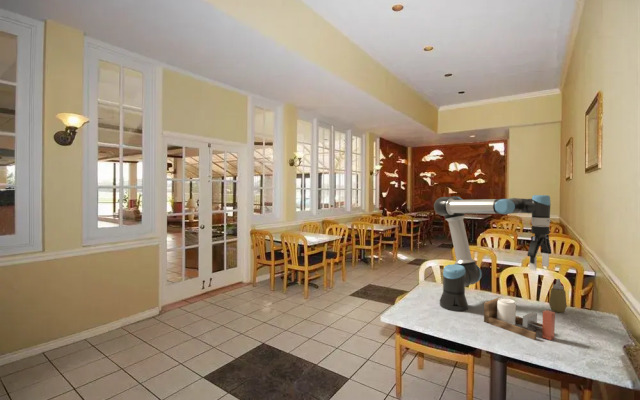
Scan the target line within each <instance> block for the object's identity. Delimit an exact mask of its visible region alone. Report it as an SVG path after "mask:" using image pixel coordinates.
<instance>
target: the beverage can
mask: <svg viewBox="0 0 640 400" xmlns="http://www.w3.org/2000/svg"><path fill="white" fill-rule="evenodd" d="M498 298H499V299H498V301H497V319H498V320H501V321H504V322H507V323H510V324H512V325H515V326H516V323H515V318H516V316H517V314H516V312H517V311H516V308H517V304H516V301H515V300H514V299H510V298H507V297H498Z"/></svg>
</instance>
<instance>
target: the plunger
mask: <svg viewBox="0 0 640 400" xmlns="http://www.w3.org/2000/svg"><path fill="white" fill-rule="evenodd" d="M522 318H523V325H522V328H524V329H527V330H530V331H533V332H535V331H539V330H542V331H541V332H542V333H541V337H542V338H543V339H546V340H549V341H553V340H554V339H555V326H556V325H555V324H556V323H555V322H556V321H555V320H556V312H555V311H552V310H548V309H545V310H543V311H542V324H543V325H542V327H541V326H537V323H538V321H537V320H538V313H536V312H534V311H533V312H532V311H531V312H529V313H527V314H525V315H523V316H522ZM537 329H539V330H537Z"/></svg>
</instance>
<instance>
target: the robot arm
mask: <svg viewBox="0 0 640 400" xmlns="http://www.w3.org/2000/svg"><path fill="white" fill-rule="evenodd" d="M433 208H434V212H435V213H436V214H438V215H439V216H443V217H444V219H445V221H447V222H448V227H449V232H450V236H451V241H452V244H453V248H454V249H453V250H454V255H455V260H456V261H455V262H454V263H453V264H447V265H445V266H444V268H443V272H442V276H443V278H442V293H441V296H440V298H439V306H440V307H441V308H443V309H445V310H448V311H455V312H463V311H467V310H468V308H469V303H468V301H467V296H466V292H465V291H466V287H467V286H470V285H471V286H472V285H474V284H476V283H478V282H479V281H480V280H481V278H482V275H483V273H482V269H481V268H480V266H478V264H477V263H476V260H475V259H474V258H472V253H471V249H470V244H469V241H468V236H467V232H466V227H465V223H464V218H465V216H466V215H465V214H493V215H494V214H495V215H496V214H498V215H500V214H501V215H508V214H509V215H510V214H531V225H532V226H531V230H530V231H531V234H534V235H533V236H531V238H530V243H529V247H528V250H527V253H526V254H527V255H526V256H527V257H529V270H530V271H537V263H538V262H537V261H538V260H537V254H538V251H539V249H540V247H541V250H542V254H541V260H542V261H541V266H543V267H547V268H548V267H549V266H550V265H549V264H550V255H551V254H552V247H551V242H550V231H551V229H550V226H551V224H550V223H551V221H552V220H551V197H550V195H547V194H546V195H545V194H543V195H542V194H534V195H532V198H519V197H512V198H499V199H498V198H497V199H496V198H495V199H494V198H493V199H492V198H491V199H490V198H489V199H488V198H487V199H485V198H484V199H483V198H482V199H463V198H461V197H460V196H441V197H438V198H437V199H436V200H435V201H434V203H433Z"/></svg>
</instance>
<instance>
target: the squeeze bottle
mask: <svg viewBox="0 0 640 400" xmlns="http://www.w3.org/2000/svg"><path fill="white" fill-rule="evenodd" d="M549 293H550V294H549V300H548V301H549V302H548V304H549V308H550V311H552V312H555V313H556V312H557V313H565V311H566V308H567V306H568V305H567V296H566V295H567V294H566V290H565V289H564V285H562V283H561V278H557V279H556V281H555V284H552V288H551V289H550V292H549Z"/></svg>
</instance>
